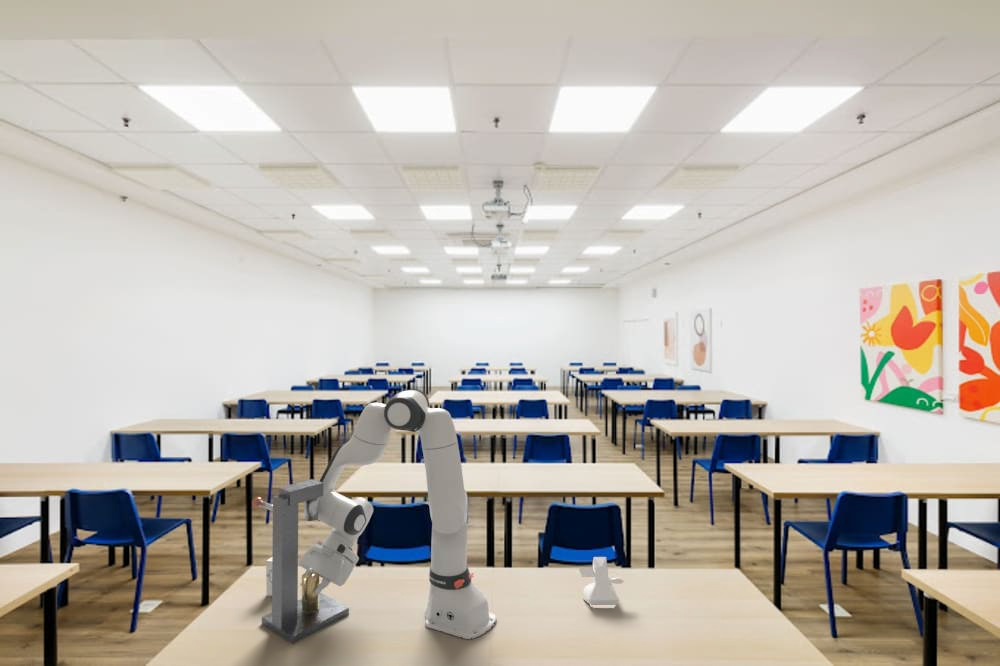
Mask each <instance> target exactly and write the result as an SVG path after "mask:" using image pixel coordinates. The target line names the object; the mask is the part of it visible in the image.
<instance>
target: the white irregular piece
mask: <svg viewBox="0 0 1000 666" xmlns="http://www.w3.org/2000/svg"><path fill="white" fill-rule="evenodd" d="M592 558H593V560H592V567H579V568H578V570H579V572H580V575H581V577H582V578H593V582H592V583H589V584H587V585H585V586H584V588H583V593H582V595H583V594H584V597H585V600H586V601H588V602H589V603H590V604H591V605H616V606H617V605H618V604H619V601H620V598H619V596H618V595H617V592H616V590H615V588H614V586H613V584H616V585H622V584H623V583H625V582H624V581H625V580H624V579H623V578H621V577H613V578H611V576H610V575H609V570H608V569H609V568H608V562H607V561H608V560H607V557H606V556H594V557H592Z"/></svg>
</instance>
